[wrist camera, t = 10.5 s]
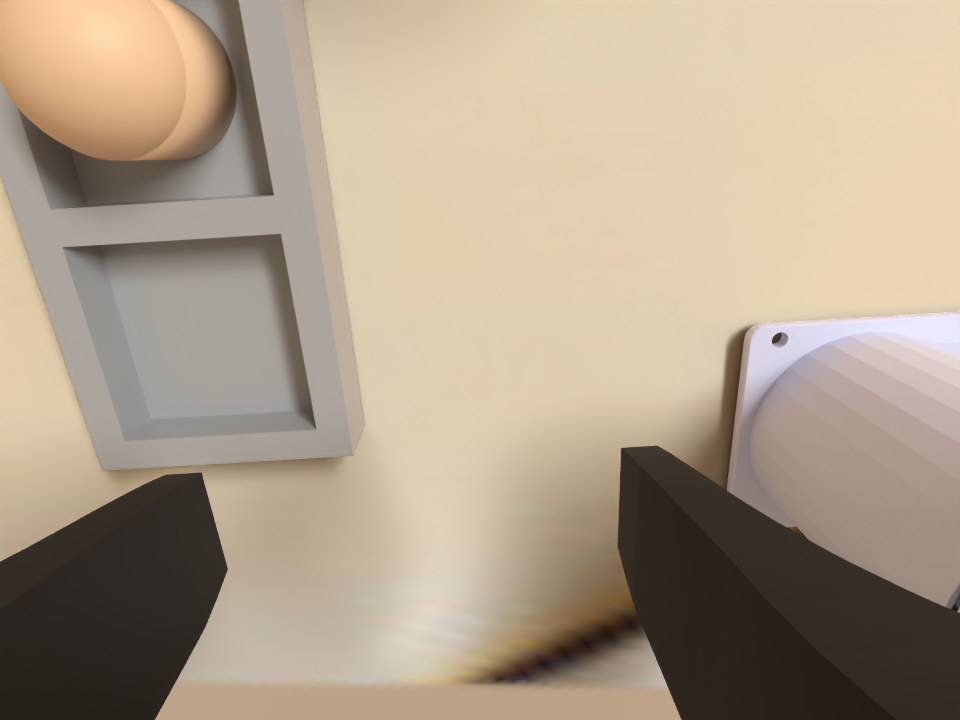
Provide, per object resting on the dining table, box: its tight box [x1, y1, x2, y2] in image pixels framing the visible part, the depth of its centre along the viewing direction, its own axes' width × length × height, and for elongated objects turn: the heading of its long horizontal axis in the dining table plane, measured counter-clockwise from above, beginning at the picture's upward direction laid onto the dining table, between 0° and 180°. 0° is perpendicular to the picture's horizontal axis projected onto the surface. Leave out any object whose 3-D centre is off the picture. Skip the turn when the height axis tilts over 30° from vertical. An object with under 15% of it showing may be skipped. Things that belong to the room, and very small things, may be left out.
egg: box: [0, 0, 237, 161], centre depth 13 cm, size 4×4×4 cm
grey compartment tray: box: [0, 0, 365, 471], centre depth 15 cm, size 8×22×2 cm, turn 3°
